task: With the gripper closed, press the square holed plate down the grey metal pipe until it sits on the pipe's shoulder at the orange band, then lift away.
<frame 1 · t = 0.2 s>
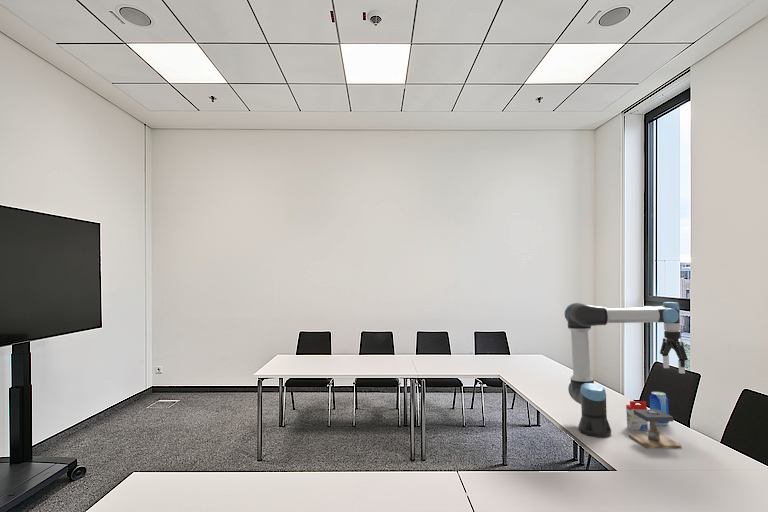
hand: (673, 370, 244), 28 cm above the table, fingers open, 13 cm apart
ink box: (637, 429, 236), on the table
beer can: (659, 423, 243), on the table
pipe stand: (654, 442, 217), on the table
square holed plate: (652, 415, 217), point 12 cm above the table, slide at 0.0 cm
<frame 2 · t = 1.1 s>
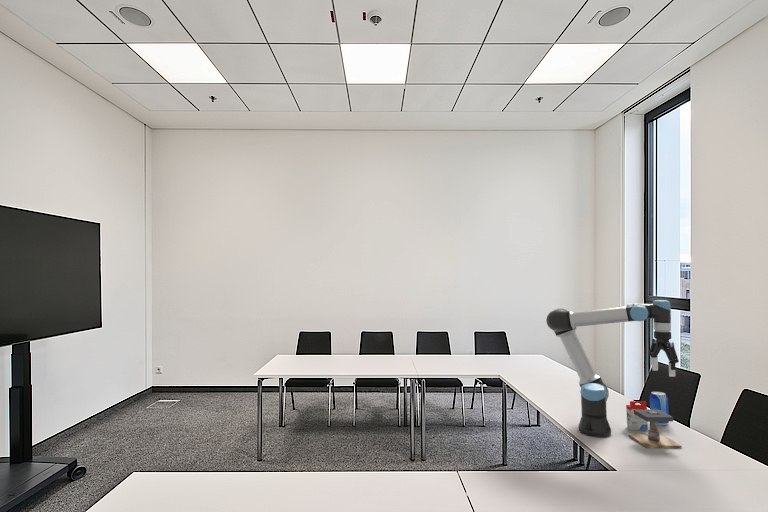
hand: (663, 373, 229), 30 cm above the table, fingers open, 13 cm apart
nothing on the table moved.
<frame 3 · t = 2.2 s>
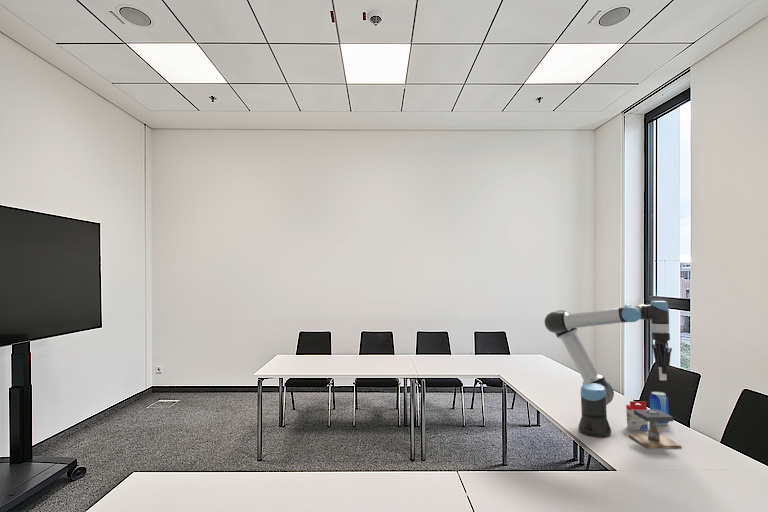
hand: (663, 380, 225), 28 cm above the table, fingers closed
nothing on the table moved.
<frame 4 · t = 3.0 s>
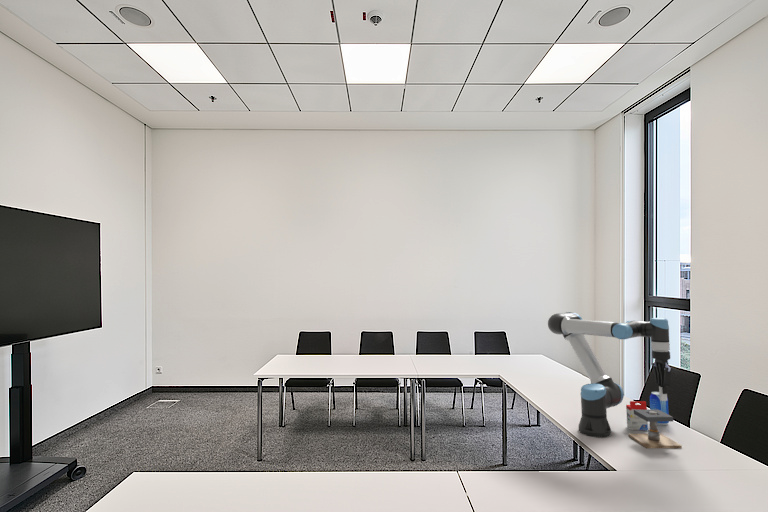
hand: (663, 400, 217), 20 cm above the table, fingers closed
nothing on the table moved.
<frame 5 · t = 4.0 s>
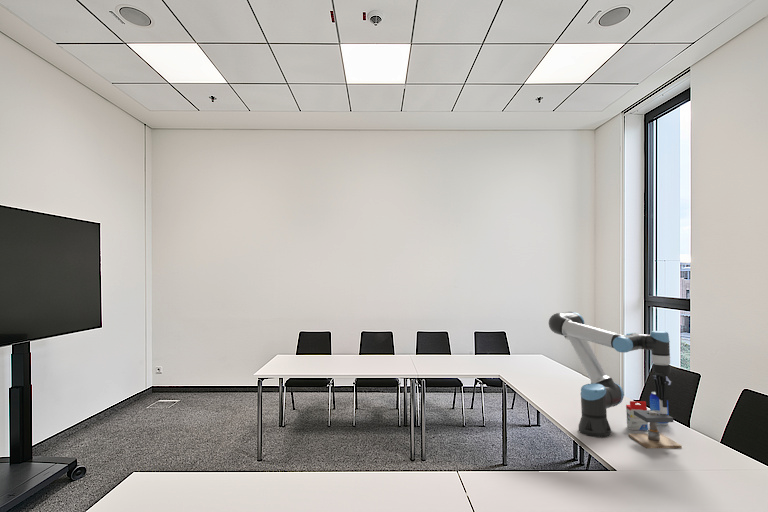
hand: (663, 413, 217), 13 cm above the table, fingers closed
square holed plate: (653, 416, 217), point 12 cm above the table, slide at 0.4 cm, touching gripper
everything else where it was.
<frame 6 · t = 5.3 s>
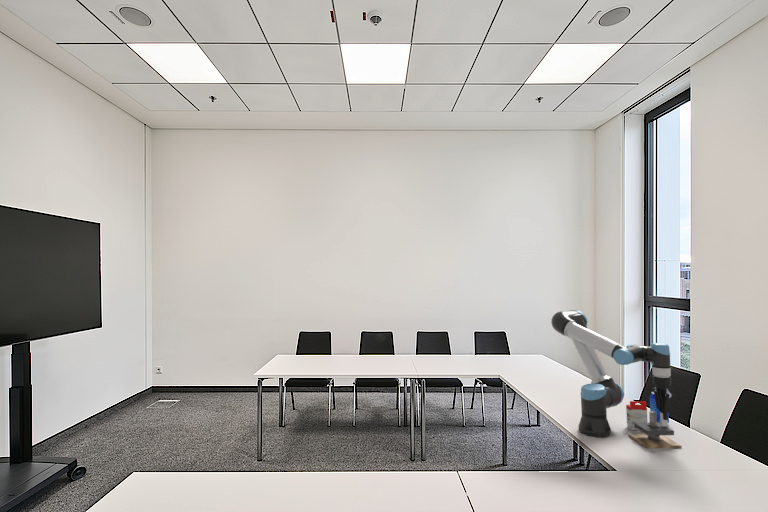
hand: (664, 426, 217), 7 cm above the table, fingers closed
square holed plate: (653, 428, 217), point 6 cm above the table, slide at 6.3 cm, touching gripper
everything else where it was.
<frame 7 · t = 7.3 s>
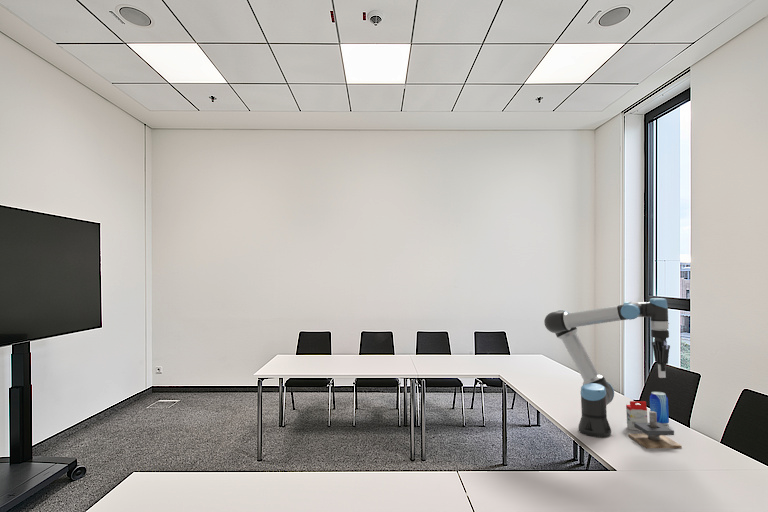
hand: (662, 377, 225), 29 cm above the table, fingers closed
square holed plate: (653, 428, 217), point 6 cm above the table, slide at 6.3 cm, touching pipe stand
everything else where it was.
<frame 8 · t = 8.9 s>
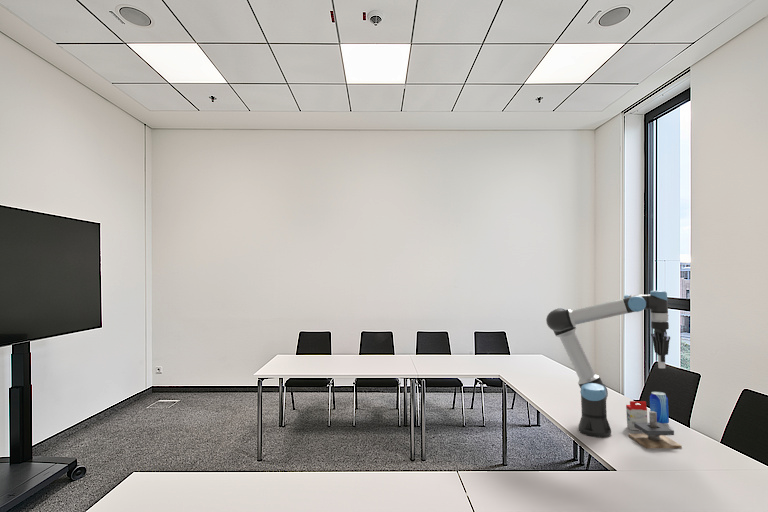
hand: (661, 368, 230), 32 cm above the table, fingers closed
nothing on the table moved.
at the end: square holed plate slide at 6.3 cm; the gripper is holding nothing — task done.
